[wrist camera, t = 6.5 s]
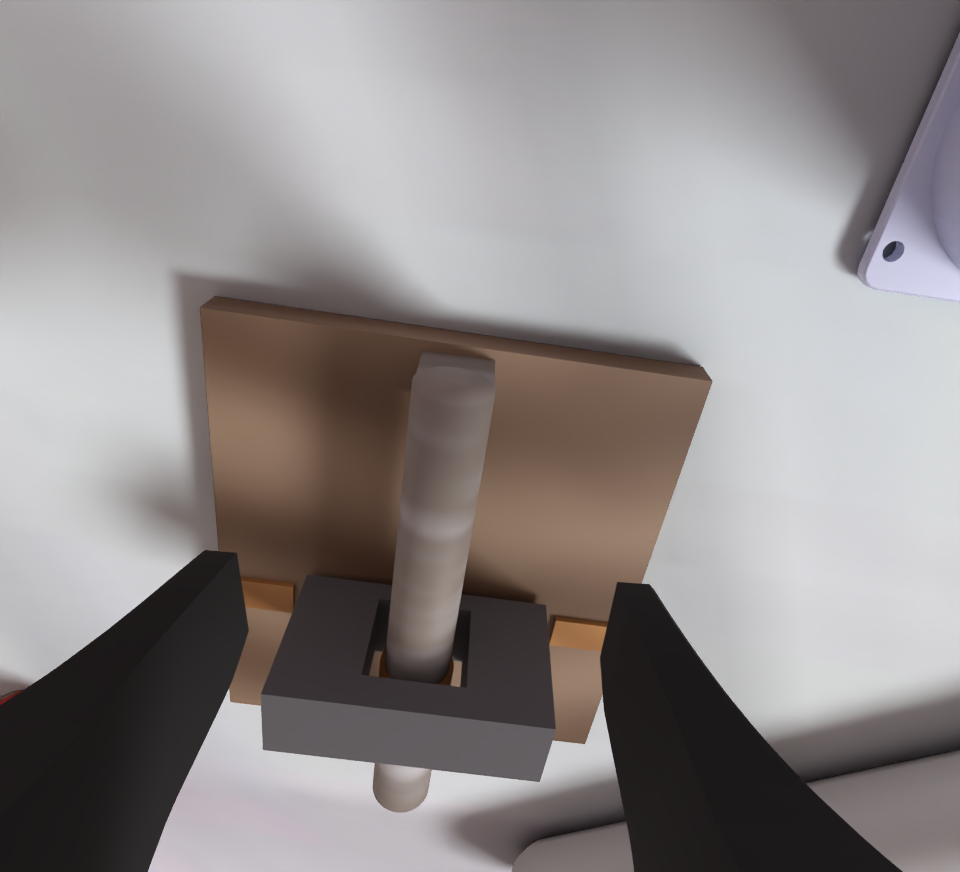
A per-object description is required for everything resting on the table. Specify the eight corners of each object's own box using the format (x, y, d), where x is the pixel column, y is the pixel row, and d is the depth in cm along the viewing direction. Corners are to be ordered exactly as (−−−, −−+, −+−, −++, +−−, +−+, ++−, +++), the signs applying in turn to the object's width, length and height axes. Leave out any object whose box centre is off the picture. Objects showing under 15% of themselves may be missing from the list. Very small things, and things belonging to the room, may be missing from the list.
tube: (541, 980, 30) (1165, 884, 24) (496, 978, 26) (1219, 865, 20) (525, 848, 34) (1063, 736, 28) (483, 830, 30) (1094, 696, 24)
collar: (307, 574, 21) (260, 694, 17) (545, 604, 22) (555, 729, 18) (306, 626, 23) (262, 749, 18) (533, 654, 23) (539, 782, 19)
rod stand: (214, 296, 18) (131, 361, 14) (702, 366, 19) (758, 449, 15) (239, 680, 26) (191, 793, 22) (582, 722, 27) (596, 839, 23)
